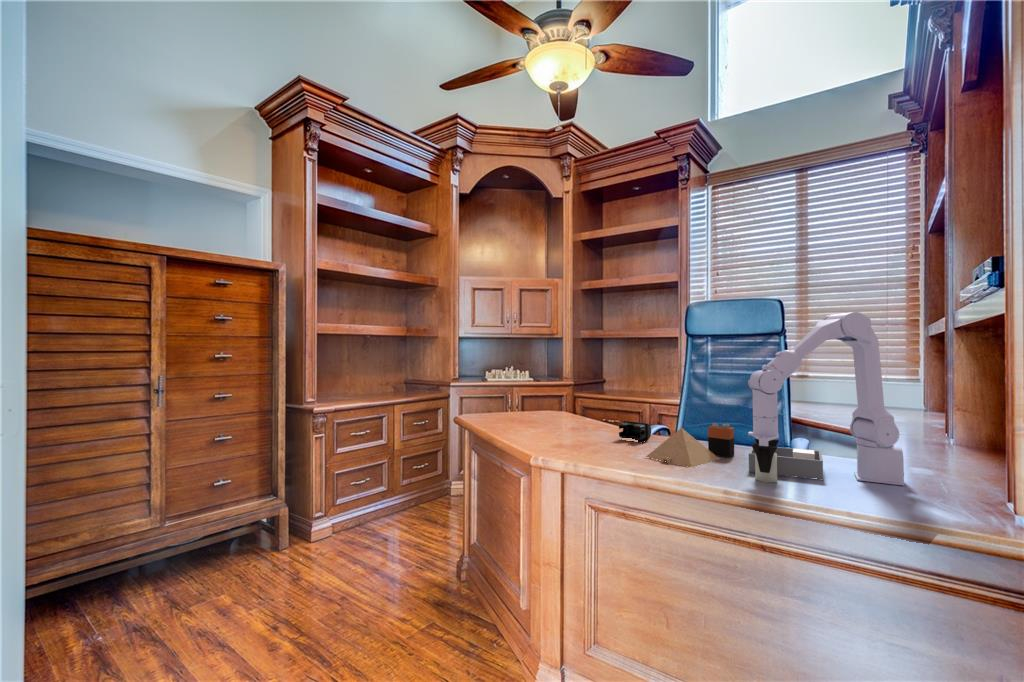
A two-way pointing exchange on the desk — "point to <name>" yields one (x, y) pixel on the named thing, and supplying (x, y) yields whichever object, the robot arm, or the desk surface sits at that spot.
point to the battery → (721, 440)
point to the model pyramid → (683, 450)
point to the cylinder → (767, 476)
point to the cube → (803, 454)
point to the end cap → (635, 431)
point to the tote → (793, 464)
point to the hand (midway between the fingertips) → (765, 468)
